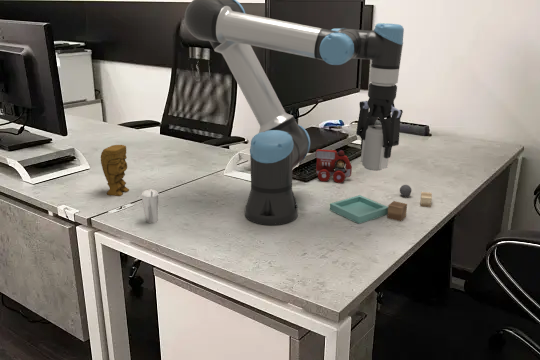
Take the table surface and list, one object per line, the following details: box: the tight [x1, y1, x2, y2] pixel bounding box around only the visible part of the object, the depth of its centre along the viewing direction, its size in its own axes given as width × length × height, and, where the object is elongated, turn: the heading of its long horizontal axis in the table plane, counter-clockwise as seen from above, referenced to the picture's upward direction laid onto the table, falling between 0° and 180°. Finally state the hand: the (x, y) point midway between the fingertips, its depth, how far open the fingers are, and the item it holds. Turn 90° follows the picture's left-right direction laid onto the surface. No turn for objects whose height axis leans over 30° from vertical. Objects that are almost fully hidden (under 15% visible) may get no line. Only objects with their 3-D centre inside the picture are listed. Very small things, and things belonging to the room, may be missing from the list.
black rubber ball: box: [399, 184, 412, 197], centre depth 163 cm, size 4×4×4 cm
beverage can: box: [361, 124, 384, 172], centre depth 147 cm, size 6×6×12 cm
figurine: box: [100, 144, 130, 197], centre depth 164 cm, size 7×7×15 cm
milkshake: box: [141, 188, 159, 224], centre depth 143 cm, size 5×5×10 cm
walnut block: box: [386, 200, 408, 222], centre depth 148 cm, size 4×4×4 cm
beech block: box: [419, 191, 433, 208], centre depth 157 cm, size 5×3×3 cm, turn 164°
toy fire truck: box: [315, 148, 353, 184], centre depth 177 cm, size 7×12×10 cm, turn 76°
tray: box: [329, 194, 388, 225], centre depth 152 cm, size 12×12×2 cm
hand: (373, 164), depth 148 cm, fingers closed on beverage can, 6 cm apart
